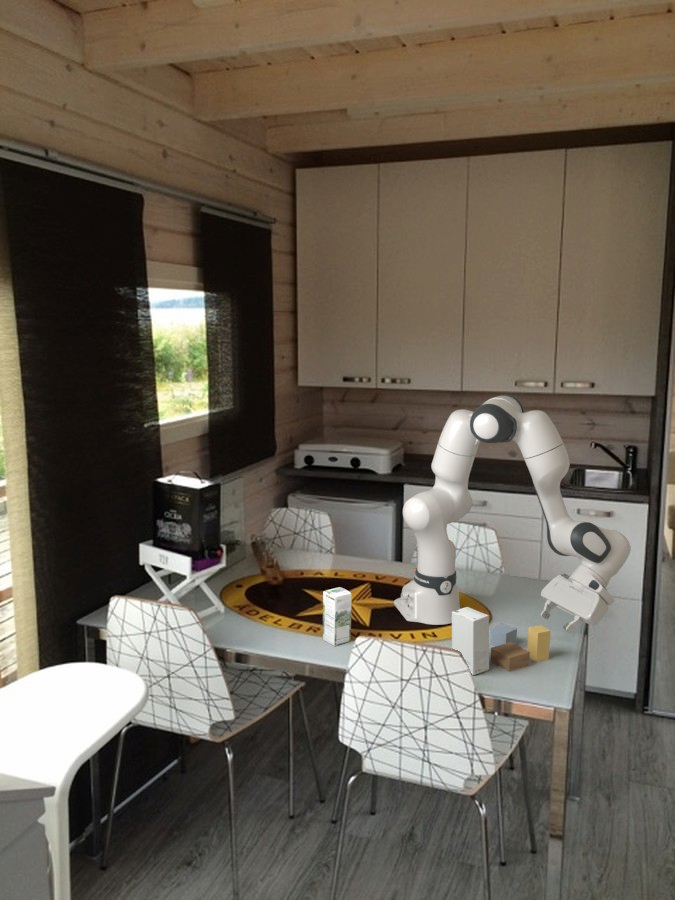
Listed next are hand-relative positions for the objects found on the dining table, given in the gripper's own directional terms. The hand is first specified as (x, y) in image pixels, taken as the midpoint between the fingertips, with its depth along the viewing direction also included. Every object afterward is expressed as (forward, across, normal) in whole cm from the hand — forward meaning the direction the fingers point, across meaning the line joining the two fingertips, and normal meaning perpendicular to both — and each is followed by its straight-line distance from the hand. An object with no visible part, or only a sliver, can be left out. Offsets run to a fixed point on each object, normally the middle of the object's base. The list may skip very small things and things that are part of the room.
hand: (554, 623), depth 213 cm
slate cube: (+12, -10, 0) cm, 16 cm away
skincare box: (+24, -2, -11) cm, 27 cm away
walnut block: (+16, 0, -4) cm, 16 cm away
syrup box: (+41, -30, -29) cm, 59 cm away
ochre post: (+10, 0, +3) cm, 10 cm away
